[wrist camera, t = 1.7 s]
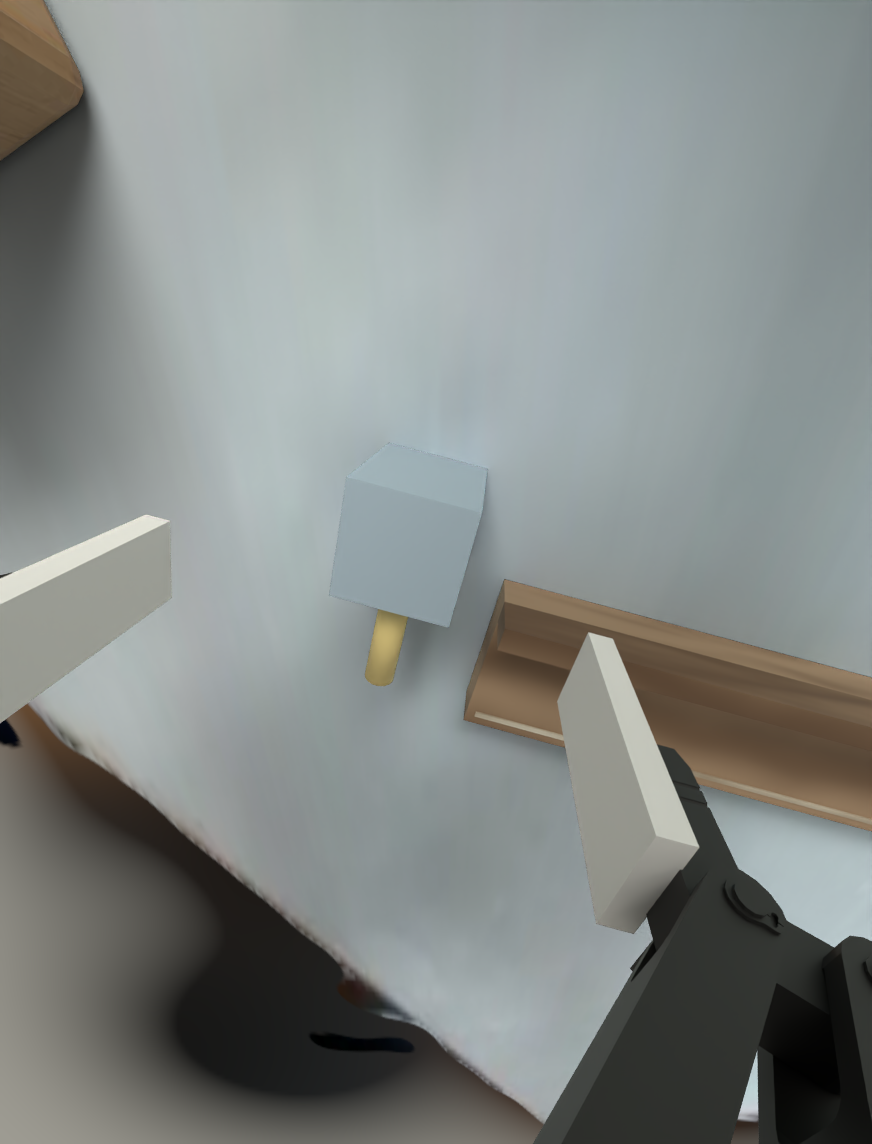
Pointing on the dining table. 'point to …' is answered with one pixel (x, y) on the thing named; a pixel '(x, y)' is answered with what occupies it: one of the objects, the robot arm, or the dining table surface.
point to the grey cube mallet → (405, 543)
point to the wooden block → (32, 73)
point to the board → (689, 701)
